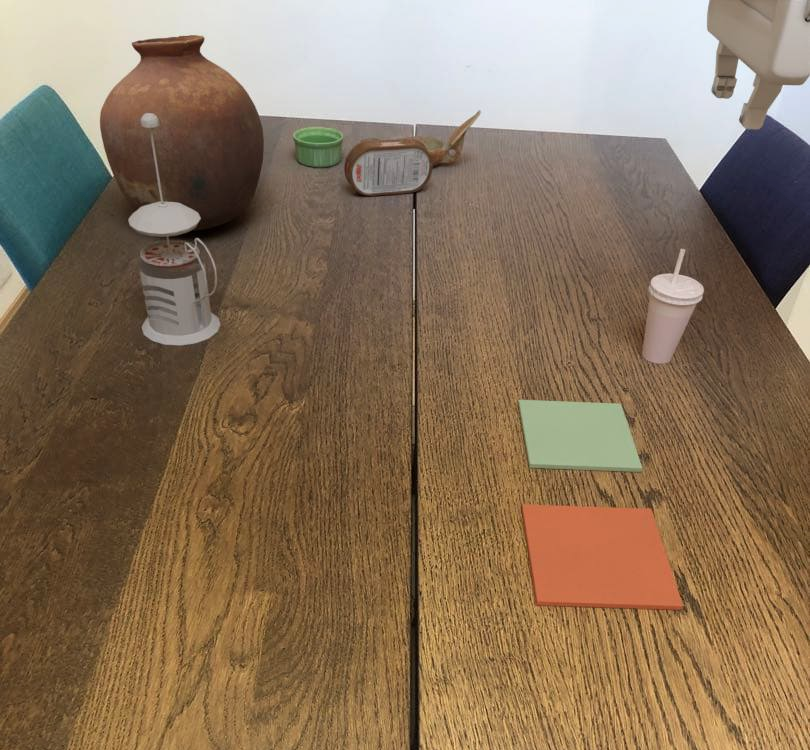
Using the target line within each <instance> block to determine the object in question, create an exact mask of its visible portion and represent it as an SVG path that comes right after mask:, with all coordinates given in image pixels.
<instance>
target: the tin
mask: <svg viewBox="0 0 810 750" xmlns="http://www.w3.org/2000/svg"><path fill="white" fill-rule="evenodd" d="M343 165H344V167H343V171H344V176H345V179H346V181H347V182H348V183H349V185H350V186H351V188H352V189H353V190H355V192H357V193H358V194H360V195H362V196H366V197H376V196H390V195H404V194H414V193H417V192H418V191H420V190H422V189H423V188H424V187H425V186H426V185H427V184H428V182H429V181H430V180H431V177H432V174H433V169H434V166H433V161H432V157H431V155H430V153H429V152H428V150H427V148H426V147H425V145H424V144H423V143H421V142H420V141H418V140H416V139H403V138H394V139H384V140H367V141H363V142H359V143H357V144H356V145H354V146H353V147H352V148H351V150H349V152H348V153H347V156H346V157H345V160H344V164H343Z"/></svg>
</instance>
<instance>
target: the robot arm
mask: <svg viewBox="0 0 810 750" xmlns="http://www.w3.org/2000/svg"><path fill="white" fill-rule="evenodd" d="M706 11H707V12H706V30H707V32H708V33H709V34H711V35H712V36H713V37H714V38H715V39H716V40H717V41H718V45H717V48H716V51H715V70H714V78H713V82H712V85H711V89H710V91H711V93H712V95H713V96H714V97H715V98H717V99H724V100H726V99H727V100H728V99H731V98H732V97H733V95H734V91H735V88H736V85H737V82H738V78H737V77H736V74H737V69H738V65H739V60H740V61H741V62H742V63H743V64H744V65H745V66H746V67H747V68H749V69H750V70H751V71H752V72H753V73H754V74H755V76H754V80H753V83H752V86H753V90H752V91H751V94H750V96H749V99H748V100H747V102H743V105H742V108H741V111H740V115H739V118H738V121H739V123H740V125H741V126H742V127H743V128H744V129H745V130H755V131H756V130H760V129H761V128H763V125H764V123H765V120H766V118H767V117H766V116H767V114H768V111H769V109H770V108H771V106H772V105H773V103H774V102H775V101H776V99H777V98H778V96H779V94H781V92H782V89H783V86H802V85H804V84H805V83H806V82H807V80H808V78H809V77H810V0H708V6H707V10H706Z"/></svg>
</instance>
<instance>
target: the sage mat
mask: <svg viewBox="0 0 810 750" xmlns="http://www.w3.org/2000/svg"><path fill="white" fill-rule="evenodd" d="M517 406H518V412H519V418H520V423H521V428H522V434H523V439H524V446H525V451H526V457H527V463H528V468H529V469H548V470H549V469H551V470H574V471H575V470H576V471H601V472H602V471H603V472H623V473H625V472H629V473H642V471H643V465H642V462H641V459H640V456H639V453H638V451H637V450H638V449H637V447H636V444H635V442H634V439H633V435H632V433H631V430H630V426H629V423H628V420H627V417H626V414H625V412H624V408H623V406H622V403H613V402H612V403H611V402H591V401H589V402H588V401H566V400H565V401H563V400H539V399H518V402H517Z"/></svg>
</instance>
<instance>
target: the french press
mask: <svg viewBox="0 0 810 750" xmlns="http://www.w3.org/2000/svg"><path fill="white" fill-rule="evenodd" d="M141 126H143V127H147V128H150V134H151V141H152V147H153V154H154V160H155V166H156V173H157V179H158V186H159V192H160V198H161V201H160V202H156V203H152V204H149V205H145V206H142V207H140V208H139V209H138V210H137V211H135V210H134V212H132V214H131V215H130V216H129V218H128V224H129V226H130V227H131V229H132V230H134V231H135V232H137V233H138V234H141V235H144V236H149V237H159V238H160V237H161V238H164V237H165V238H166V239H163V240H155V241H154V242H151V243H149V244H146V245H144V246H143V247H142V248H141V249H140V251H139V253H138V256H139V258H140V260H141V261H140V262H139V264H137V265H138V271H139V276H140V281H141V283H140V284H141V285H142V294H143V296H144V304H145V309H146V313H147V317H146V318H145V319H144V322H143V323H142V326H141V329H142V334H143V336H145V337H146V338H147V339H148V340H150V341H151V342H155V343H158V344H161V345H166V346H186V345H194V344H198V343H200V342H203V341H206V340H209V339H210V338H212V337H213V336H214V335H215V334H216V333H218V332H219V330H220V328H221V321H220V319H219V317H218V316H217V315H216V314H214V313H212V309H211V302H210V297H211V296H213V295H214V294H215V293H216V290H217V286H218V275H217V267H216V262H215V260H214V258H213V255H212V254H211V252H210V250H209V249H208V247H207V245H206V244H205V243H204V242H203V241H202V240H201V239H200V238H199V237H195V238H194V243H193V242H191V241H187V240H183V239H182V240H181V239H173V238H171V239H170V237H176V236H180V235H183V234H187V233H189V232H192V231H191V230H192V229H194V228H196V226H197V224H198V222H199V220H200V219H201V218H200V215H199V213H198V212H196V211H194V210H193V209H191V208H189V207H187V206H185V205H183V204H181V203H176V202H163V198H162V191H161V185H160V178H159V172H158V166H157V159H156V153H155V146H154V140H153V133H152V128H153V127H157V126H159V120H158V118H157V116H156V115H155V114H153V113H145V114H144V115H143V116H142V118H141ZM198 243H199V244H201V245H202V247H203V248H204V250H205V251H206V254H208V256H209V259H210V261H211V264H212V267H213V271H214V287H213V289H212V291H211V292H210V293H209V287H208V278H207V271H206V263H205V259H203V258H202V257H201V256H200V255H201V253H202V251H201V249H200V247H199V246H198ZM194 264H197V265H200V267H201V268H199V267H196V268H193V269H189V270H186V271H179V272H172V271H168V270H169V269H178V268H184V267H188V266H191V265H194ZM193 275H196V278H193ZM196 284H197V286H198V287H195V286H194V285H196ZM198 293H199V296H197V297H196V296H195V294H198Z"/></svg>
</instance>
